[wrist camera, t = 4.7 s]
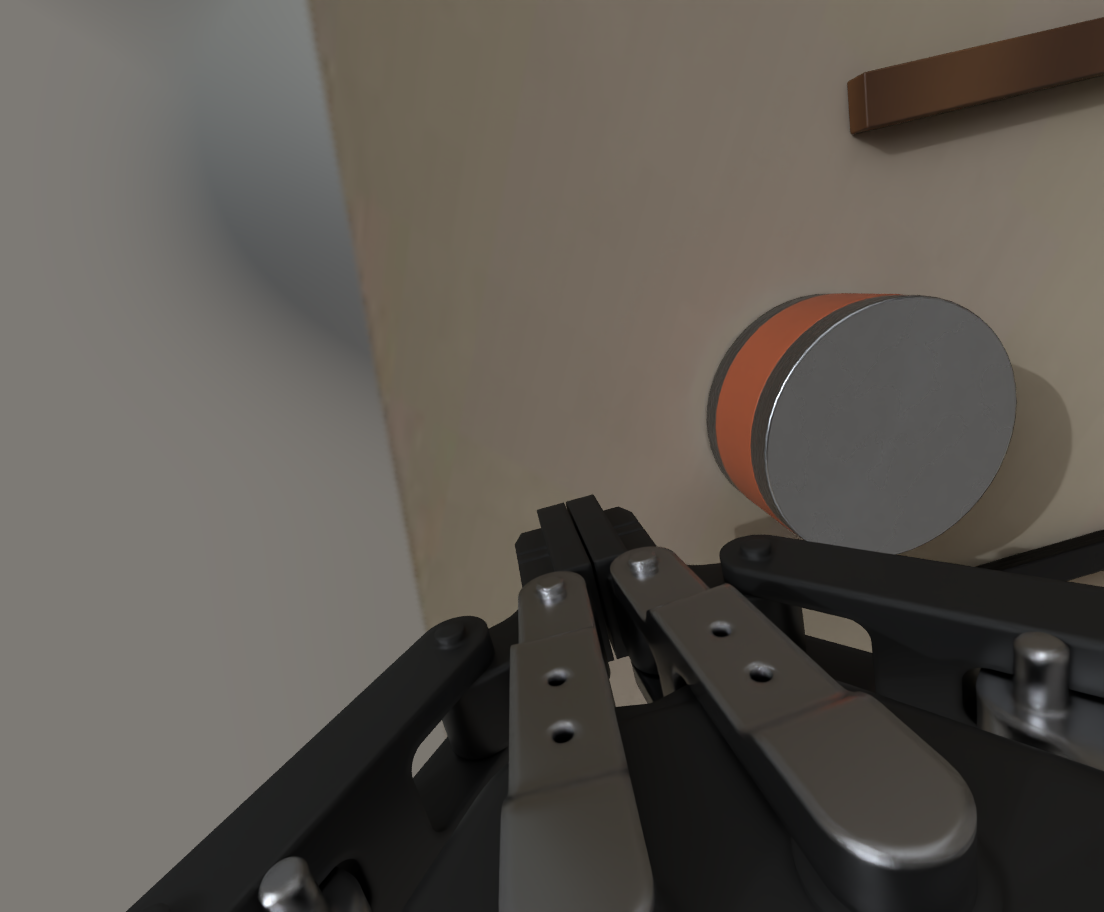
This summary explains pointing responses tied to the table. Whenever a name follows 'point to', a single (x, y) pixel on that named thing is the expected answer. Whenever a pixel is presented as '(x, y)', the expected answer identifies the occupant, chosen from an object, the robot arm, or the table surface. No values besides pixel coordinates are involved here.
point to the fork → (1057, 559)
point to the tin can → (864, 416)
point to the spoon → (976, 75)
